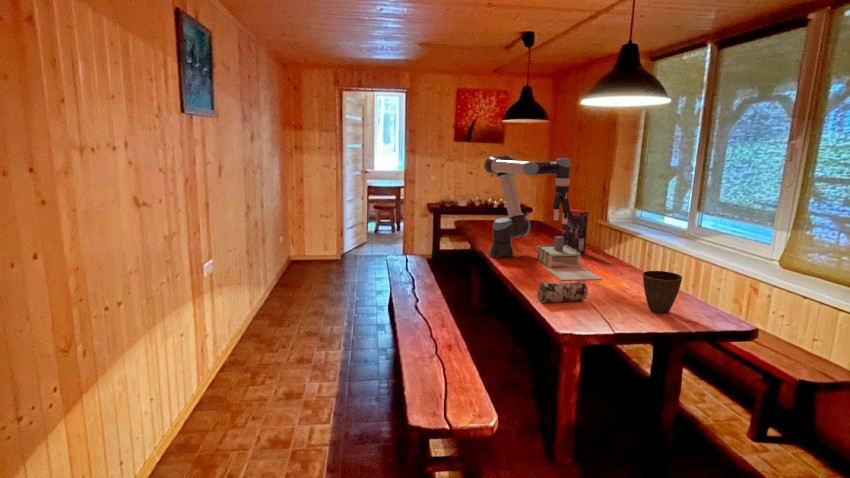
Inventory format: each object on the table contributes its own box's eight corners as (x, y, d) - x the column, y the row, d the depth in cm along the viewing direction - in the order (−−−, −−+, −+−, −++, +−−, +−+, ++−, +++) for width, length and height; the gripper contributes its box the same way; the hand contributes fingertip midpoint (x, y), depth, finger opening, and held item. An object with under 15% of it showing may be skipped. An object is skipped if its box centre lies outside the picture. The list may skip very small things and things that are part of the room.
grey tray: (560, 280, 249) (561, 279, 249) (546, 269, 270) (546, 268, 270) (601, 279, 251) (601, 278, 251) (584, 268, 273) (584, 267, 272)
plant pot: (640, 314, 201) (644, 278, 198) (638, 303, 214) (641, 269, 211) (680, 319, 196) (684, 281, 192) (675, 307, 209) (679, 272, 206)
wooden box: (536, 259, 294) (537, 245, 292) (565, 258, 295) (565, 244, 293) (549, 268, 272) (549, 253, 270) (579, 268, 274) (580, 253, 272)
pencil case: (543, 305, 212) (544, 284, 210) (535, 299, 220) (537, 279, 219) (589, 302, 216) (590, 281, 214) (579, 296, 224) (581, 276, 222)
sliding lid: (539, 248, 291) (540, 234, 289) (564, 248, 292) (565, 233, 291) (551, 256, 272) (551, 240, 270) (578, 256, 273) (579, 240, 271)
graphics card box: (559, 249, 322) (562, 208, 317) (567, 248, 325) (570, 208, 319) (577, 254, 307) (580, 212, 301) (586, 253, 310) (588, 211, 304)
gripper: (577, 187, 262) (575, 225, 266) (560, 183, 287) (558, 218, 291) (564, 187, 261) (562, 225, 266) (548, 183, 286) (546, 218, 290)
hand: (560, 222), depth 278 cm, fingers open, 13 cm apart
